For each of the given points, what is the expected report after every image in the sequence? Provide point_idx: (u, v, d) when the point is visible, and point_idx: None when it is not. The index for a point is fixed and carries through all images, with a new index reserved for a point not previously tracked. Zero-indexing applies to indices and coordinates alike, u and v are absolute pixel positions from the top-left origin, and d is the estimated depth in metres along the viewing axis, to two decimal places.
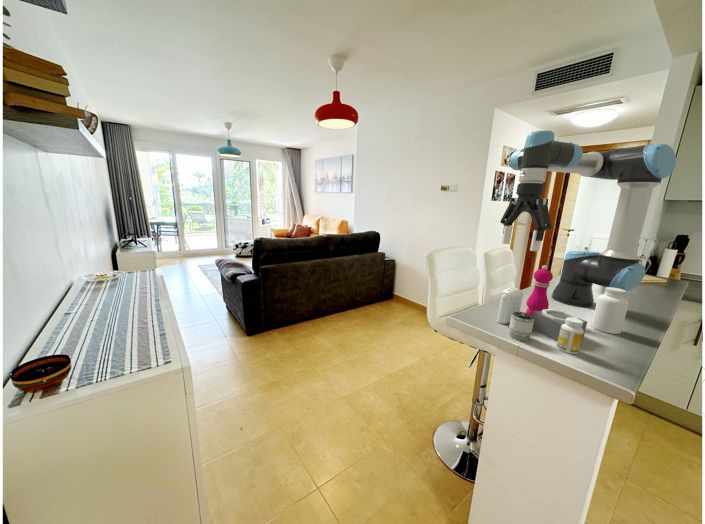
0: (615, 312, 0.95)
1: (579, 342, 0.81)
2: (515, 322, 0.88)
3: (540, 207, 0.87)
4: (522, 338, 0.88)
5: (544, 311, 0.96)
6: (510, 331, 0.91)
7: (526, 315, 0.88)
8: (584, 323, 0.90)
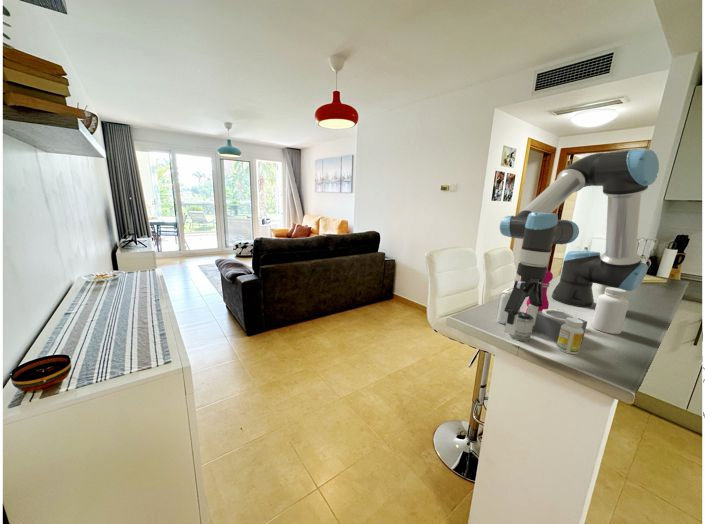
0: (615, 312, 0.95)
1: (579, 342, 0.81)
2: None
3: None
4: (522, 338, 0.88)
5: (544, 311, 0.96)
6: None
7: (526, 315, 0.88)
8: (584, 323, 0.90)
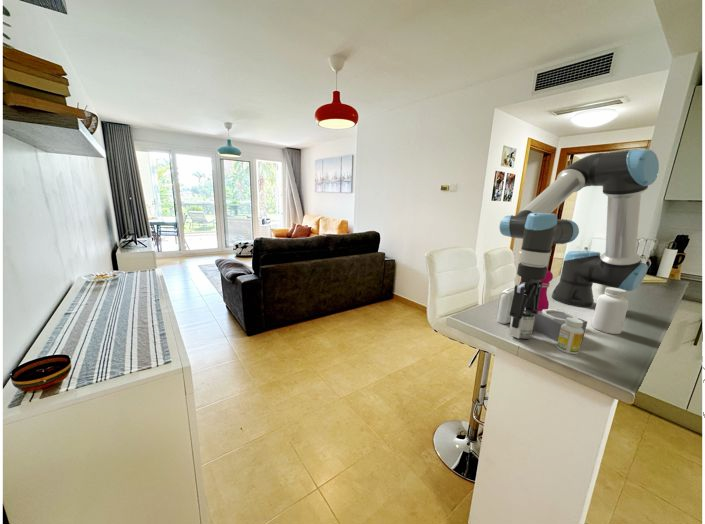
0: (615, 312, 0.95)
1: (579, 342, 0.81)
2: None
3: None
4: (523, 336, 0.88)
5: (544, 311, 0.96)
6: None
7: (527, 313, 0.88)
8: (584, 323, 0.90)
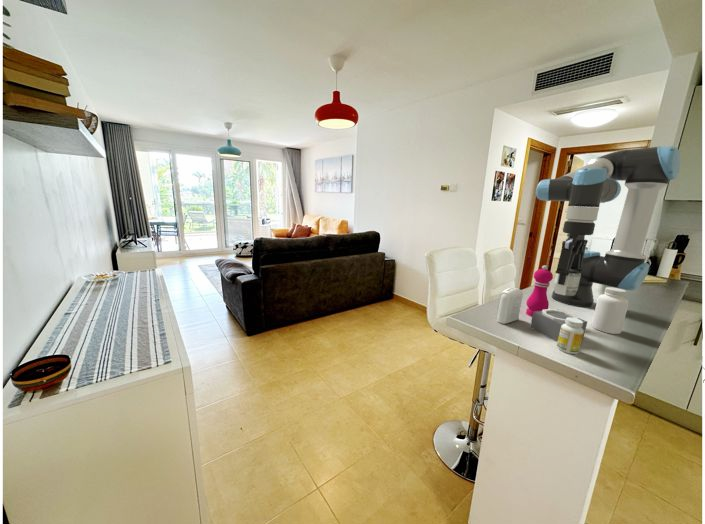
0: (615, 312, 0.95)
1: (579, 342, 0.81)
2: None
3: None
4: (569, 293, 0.89)
5: (544, 311, 0.96)
6: None
7: (572, 270, 0.89)
8: (584, 323, 0.90)
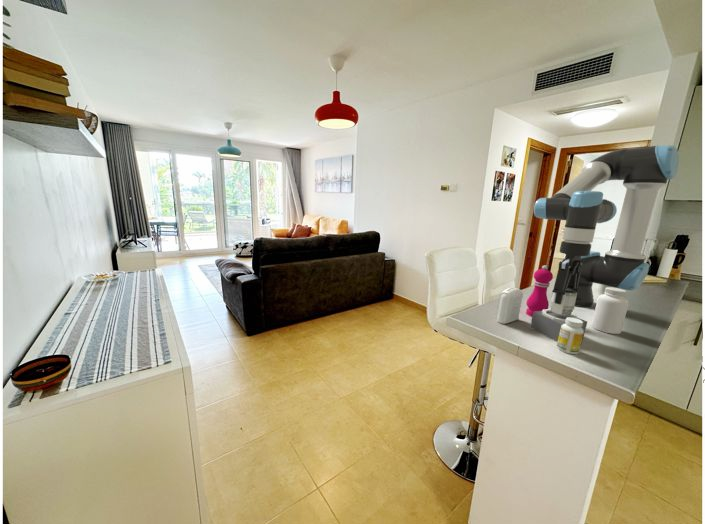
0: (615, 312, 0.95)
1: (579, 342, 0.81)
2: None
3: None
4: (565, 312, 0.90)
5: (544, 311, 0.96)
6: None
7: (569, 289, 0.91)
8: (584, 323, 0.90)
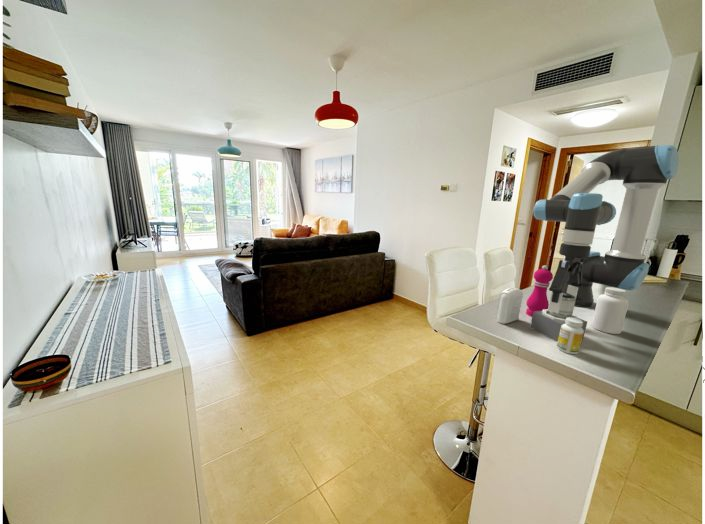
0: (615, 312, 0.95)
1: (579, 342, 0.81)
2: None
3: None
4: (564, 317, 0.91)
5: (544, 311, 0.96)
6: None
7: (567, 295, 0.91)
8: (584, 323, 0.90)
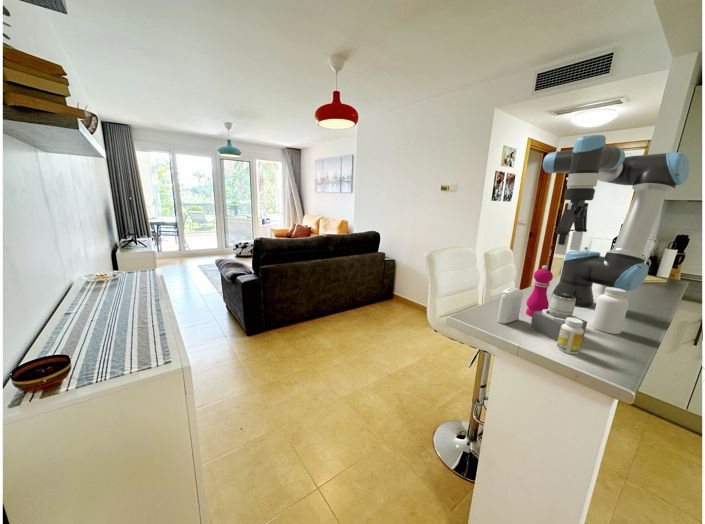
0: (615, 312, 0.95)
1: (579, 342, 0.81)
2: (557, 301, 0.91)
3: None
4: (564, 317, 0.91)
5: (544, 311, 0.96)
6: (551, 311, 0.93)
7: (568, 295, 0.91)
8: (584, 323, 0.90)
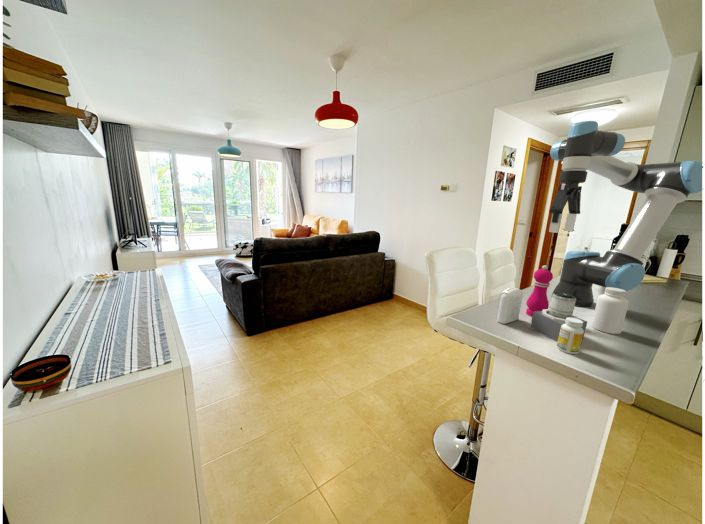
0: (615, 312, 0.95)
1: (579, 342, 0.81)
2: (557, 301, 0.91)
3: None
4: (564, 317, 0.91)
5: (544, 311, 0.96)
6: (551, 310, 0.93)
7: (568, 295, 0.91)
8: (584, 323, 0.90)
